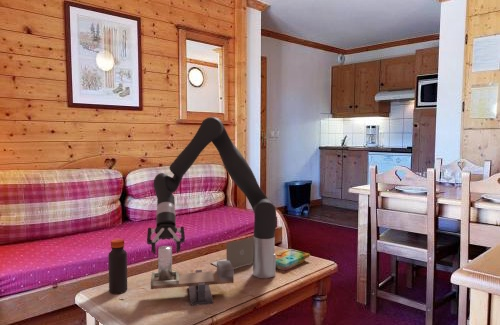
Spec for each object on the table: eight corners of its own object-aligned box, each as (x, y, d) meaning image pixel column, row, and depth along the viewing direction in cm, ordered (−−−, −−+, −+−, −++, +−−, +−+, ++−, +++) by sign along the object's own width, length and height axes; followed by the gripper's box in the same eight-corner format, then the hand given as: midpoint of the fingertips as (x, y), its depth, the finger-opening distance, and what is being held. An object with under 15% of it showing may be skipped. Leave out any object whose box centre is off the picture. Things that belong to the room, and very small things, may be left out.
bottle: (114, 296, 142) (113, 244, 140) (105, 291, 146) (104, 240, 145) (130, 290, 147) (130, 240, 145) (121, 285, 151) (120, 237, 150)
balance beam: (229, 273, 150) (229, 260, 150) (233, 282, 140) (233, 269, 140) (152, 278, 144) (151, 265, 143) (150, 289, 134) (150, 275, 134)
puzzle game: (265, 256, 176) (290, 247, 191) (265, 266, 176) (290, 256, 191) (285, 262, 168) (309, 252, 183) (285, 272, 169) (309, 261, 184)
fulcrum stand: (208, 286, 152) (208, 268, 151) (213, 303, 136) (213, 284, 136) (188, 287, 150) (188, 270, 150) (190, 305, 135) (190, 286, 134)
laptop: (239, 256, 190) (239, 231, 189) (256, 262, 181) (256, 236, 180) (210, 264, 178) (210, 237, 177) (226, 271, 169) (226, 243, 168)
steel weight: (172, 276, 143) (171, 245, 142) (172, 281, 138) (172, 249, 137) (158, 277, 142) (158, 246, 141) (158, 282, 137) (157, 250, 136)
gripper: (147, 211, 147) (146, 248, 137) (184, 210, 150) (185, 246, 140) (148, 221, 153) (146, 258, 143) (183, 220, 156) (184, 256, 146)
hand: (166, 252), depth 141 cm, fingers open, 8 cm apart
